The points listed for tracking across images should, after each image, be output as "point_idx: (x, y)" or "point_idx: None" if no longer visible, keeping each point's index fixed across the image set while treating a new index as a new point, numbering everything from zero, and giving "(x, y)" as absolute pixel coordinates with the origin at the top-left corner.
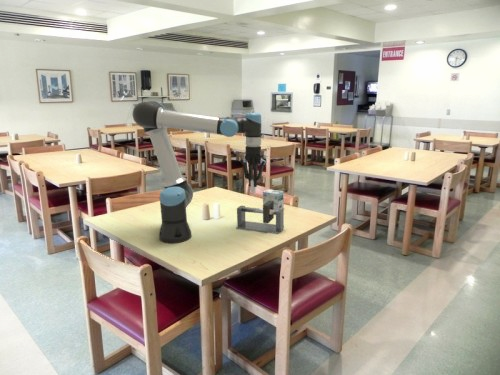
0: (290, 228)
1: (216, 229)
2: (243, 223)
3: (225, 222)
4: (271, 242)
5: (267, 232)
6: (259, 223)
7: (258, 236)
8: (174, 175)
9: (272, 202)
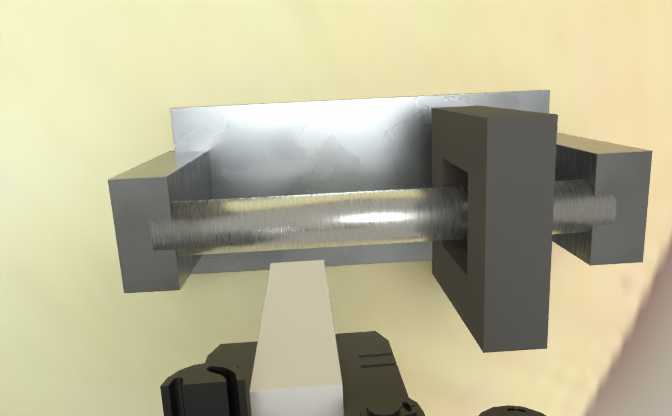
0: (602, 101)
1: (55, 339)
2: (210, 196)
3: (20, 168)
4: (537, 404)
5: None
6: (330, 118)
7: (418, 345)
8: None
9: (550, 164)
